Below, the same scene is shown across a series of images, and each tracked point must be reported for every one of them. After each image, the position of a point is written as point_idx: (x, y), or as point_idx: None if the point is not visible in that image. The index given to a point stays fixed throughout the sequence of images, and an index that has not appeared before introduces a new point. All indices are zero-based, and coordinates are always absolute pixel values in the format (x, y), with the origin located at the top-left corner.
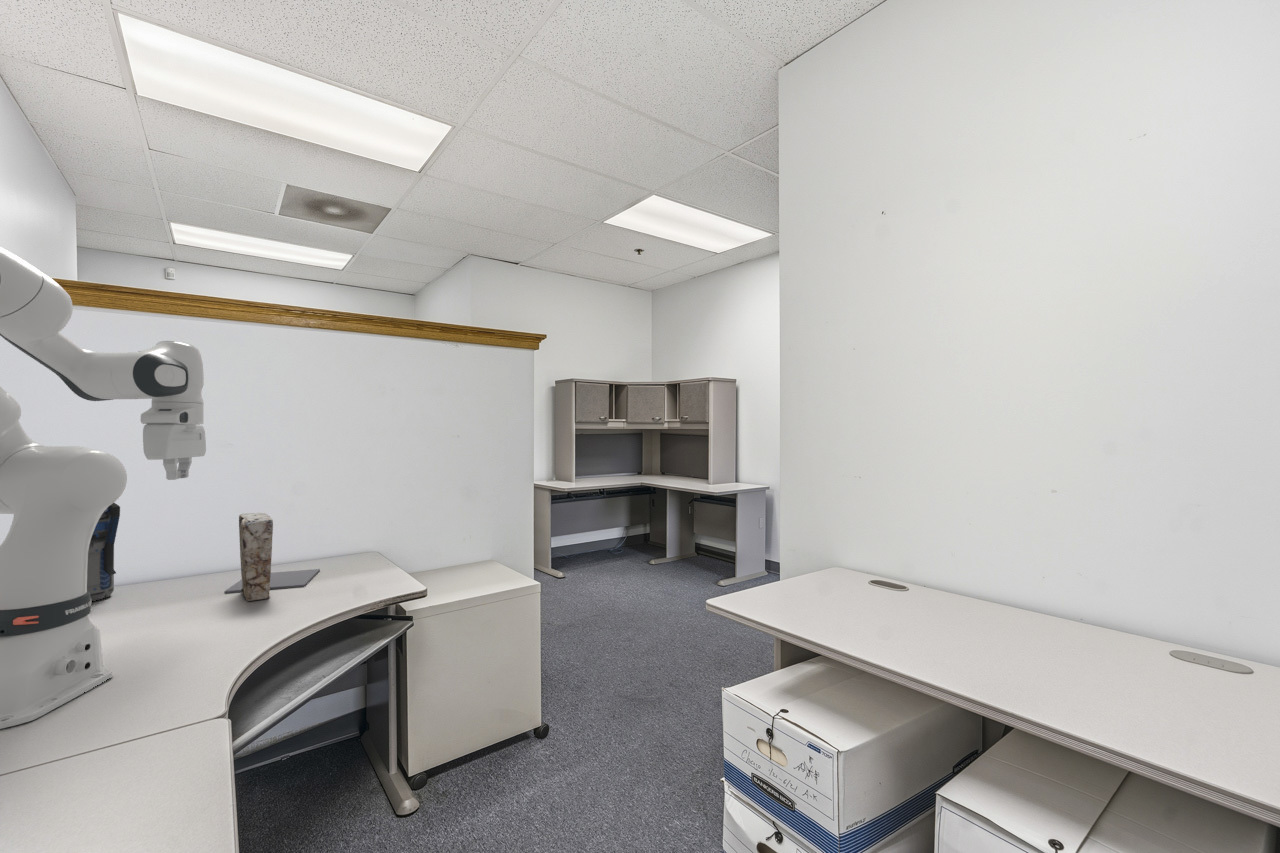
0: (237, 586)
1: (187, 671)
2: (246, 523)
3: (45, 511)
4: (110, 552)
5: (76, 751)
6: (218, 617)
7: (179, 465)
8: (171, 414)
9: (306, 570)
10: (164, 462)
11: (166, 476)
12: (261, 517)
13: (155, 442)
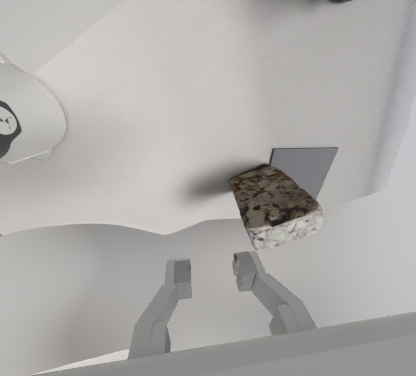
0: (288, 154)
1: (64, 198)
2: (250, 231)
3: None
4: None
5: None
6: (189, 172)
7: (273, 292)
8: None
9: (315, 194)
10: (133, 337)
11: (166, 267)
12: (273, 240)
13: None
